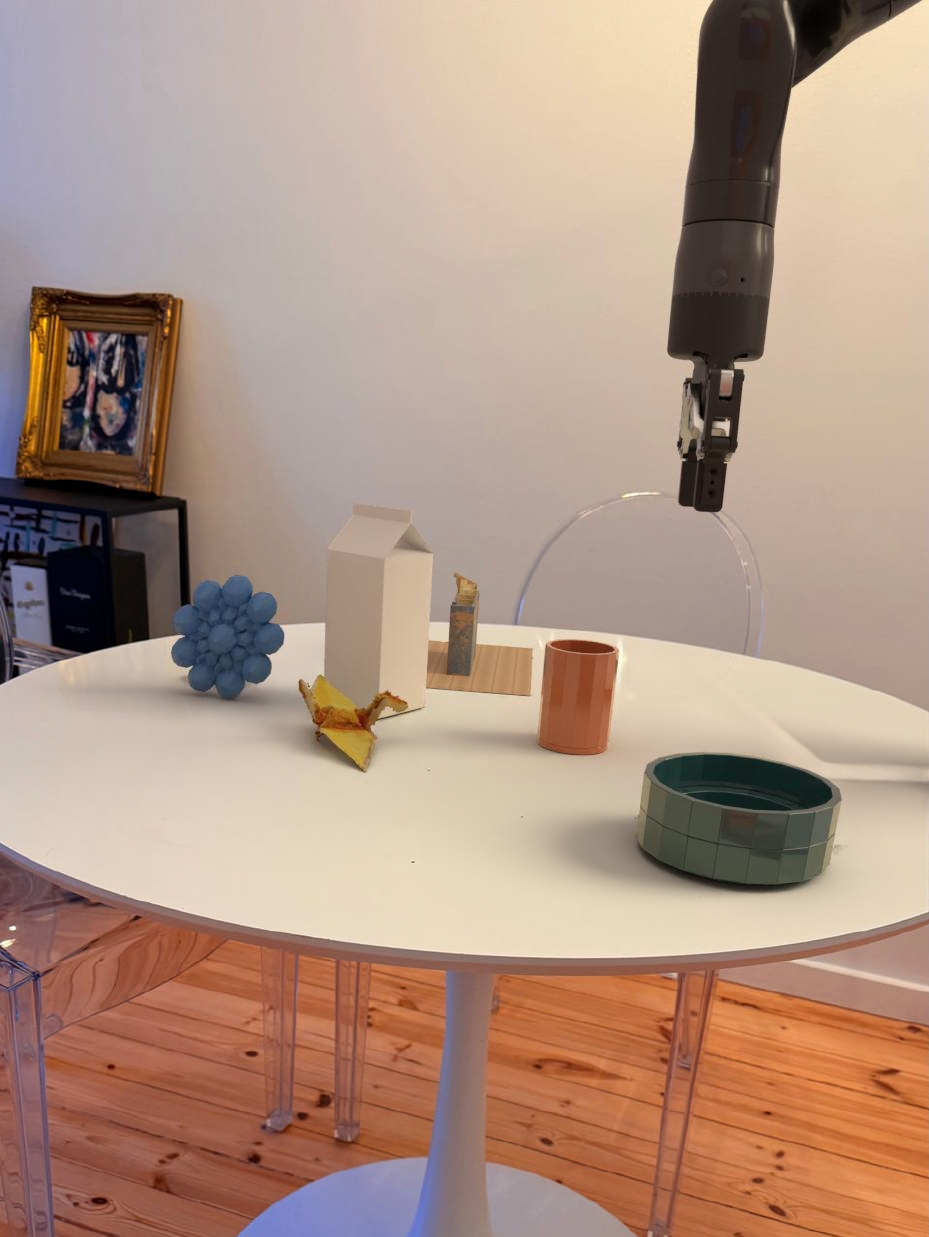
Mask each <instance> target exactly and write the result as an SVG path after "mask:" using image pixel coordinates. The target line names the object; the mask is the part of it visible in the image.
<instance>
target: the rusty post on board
mask: <svg viewBox="0 0 929 1237" xmlns="http://www.w3.org/2000/svg"><path fill="white" fill-rule="evenodd" d="M453 578H455V579H456V580H455V583H456V588H457V591H456V592H455V593H456V594H455V597H454V598H453V600H452V601H451V604H450V608H449V626H448V641H444V642H441V641H442V640H430V639H429V642H428V660H427V678H426V689H437V690H439V689H440V690H451V691H464V692H477V693H490V694H504V695H516V696H527V697H528V696H529V697H531V694H532V693H531V692H532V670H533V647H523V646H507V645H494V644H483V643H482V644H481V643H477V637H478V623H479V609H480V608H479V607H480V594H481V591H480V590H478V586H479V584H478V583H476V582H474V581H472V580H469V579H468V578H466V577H465V576H463V575H461V574H460V573H458V572H456V571H454V573H453Z"/></svg>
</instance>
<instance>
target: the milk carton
mask: <svg viewBox="0 0 929 1237" xmlns="http://www.w3.org/2000/svg"><path fill="white" fill-rule="evenodd" d="M433 566H434V552H433V551H432V549H431V547H430V546H429V545H428V544H427V542H426V540H425V539H424V538H423V536H422V535H421V534H420V533H419V531H418V529H417V528H416V527H415V525H414V524H413V510H408V509H402V508H396V507H395V508H394V507H387V506H382V505H381V506H380V505H373V504H366V503H359V502H353V503H352V515H351V516H350V517H349V518H348V520H347V521H346V522H345V524H344V525H343V526H342V528H341V529H340V531H339V532H338V533H337V534H336V536H334V538H333V540H332V541H331V543H329V545H328V546H327V547H326V574H325V575H326V576H325V578H326V579H325V580H326V582H325V620H324V624H325V625H324V659H323V660H324V662H323V663H324V664H323V666H324V667H323V676H324V677H325V679H326V680H327V681H328V682H329V683H330V684H331V686H333V687H335V688H336V689H337V690H338V691H339V692H341V693H343V694H344V696H346V697H348V698H349V699H350V700H351V701H352V702H353V704H355V705H356V706H357V707H358V710H359V709H360V708H364V707H365V708H364V709H366V708H368V706H369V705H370V704H371V703H372V702H373V701H372V700H374V699H375V697H374V696H375V695H376V694H379V693H381V692H382V693H383V692H385V691H387V689H388V691H389V692H391V695H393V696H399V697H398V698H400V699H401V700H403V701H405V702H407V705H408V706H409V707H408V708H407V709H406V710H404V711H401V712H399V713H398V712H396V711H392V710H393V708H389V706H388V707H385V710H382V711H381V714H380V715H379V716H378V719H377V720H379V719H383V718H387V717H391V716H395V715H399V714H403V713H406V712H410V711H414V710H415V711H416V710H418V709H422V708H425V705H426V694H427V693H426V692H427V688H426V678H427V660H428V642H429V640H430V638H429V637H430V622H431V621H430V620H431V605H432V604H431V602H432V588H433V586H432V584H433V569H434V568H433Z"/></svg>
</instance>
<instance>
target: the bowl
mask: <svg viewBox="0 0 929 1237" xmlns="http://www.w3.org/2000/svg"><path fill="white" fill-rule="evenodd" d="M842 801H843V797H842V793H841V789H840V788H839V787H838V786H837V785H836V784H835V783H833V782H832V781H831V780H829V778H826V777H824V776H822V775H821V774H818V773H816V772H814V771H811V770H809V769H807V768H805V767H804V768H803V767H800V766H797V765H795V764H791V763H788V762H784V761H780V760H775V759H771V758H765V757H760V756H756V755H755V756H754V755H747V754H740V753H732V752H715V751H696V752H695V751H694V752H681V753H680V752H679V753H674V754H667V755H663V756H660V757H657V758H655V759H653V760H652V761H650V762H648V763H647V764H646V766H645V768H644V772H643V780H642V788H641V796H640V802H639V810H638V819H637V825H636V826H637V828H636V836H635V838H636V840H637V841H638V843H639V845H640V847H641V848H642V849H643V850H644V851H645V852H647V853H648V854H649V855H651V856H652V857H654V858H655V859H656V860H657V861H660V862H662V863H664V864H667V865H669V866H671V867H674V868H675V869H678V870H679V871H683V872H685V873H688V874H691V875H693V876H698V877H700V878H705V879H708V880H712V881H717V882H722V883H729V884H737V885H748V886H749V885H750V886H769V885H770V886H771V885H782V884H791V883H800V882H804V881H808V880H810V879H813V878H817V877H819V876H821V875H822V874H823V873H824V871H826V870H827V868H828V867H829V866H830V863H831V859H832V853H833V847H834V842H835V839H836V838H835V837H836V832H837V827H838V823H839V817H840V810H841V806H842Z"/></svg>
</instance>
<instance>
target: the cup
mask: <svg viewBox="0 0 929 1237" xmlns="http://www.w3.org/2000/svg"><path fill="white" fill-rule="evenodd" d="M619 657H620V649H619V648H618V647H617V646H615V645H612V644H610V643H607V642H602V641H596V640H588V639H579V638H578V639H576V638H575V639H574V638H563V639H553V640H549V641H547V642H546V643H545V646H544V658H543V669H542V679H541V680H542V682H541V691H540V702H539V711H538V712H539V714H538V725H537V743H538V745H539V746H541V747H542V748H544V749H546V750H549V751H552V752H556V753H561V754H568V755H582V756H583V755H596V754H601V753H604V752H606V751H608V748H609V741H610V736H611V726H612V718H613V712H614V711H613V709H614V701H615V692H616V685H617V684H616V683H617V675H618V665H619Z"/></svg>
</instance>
